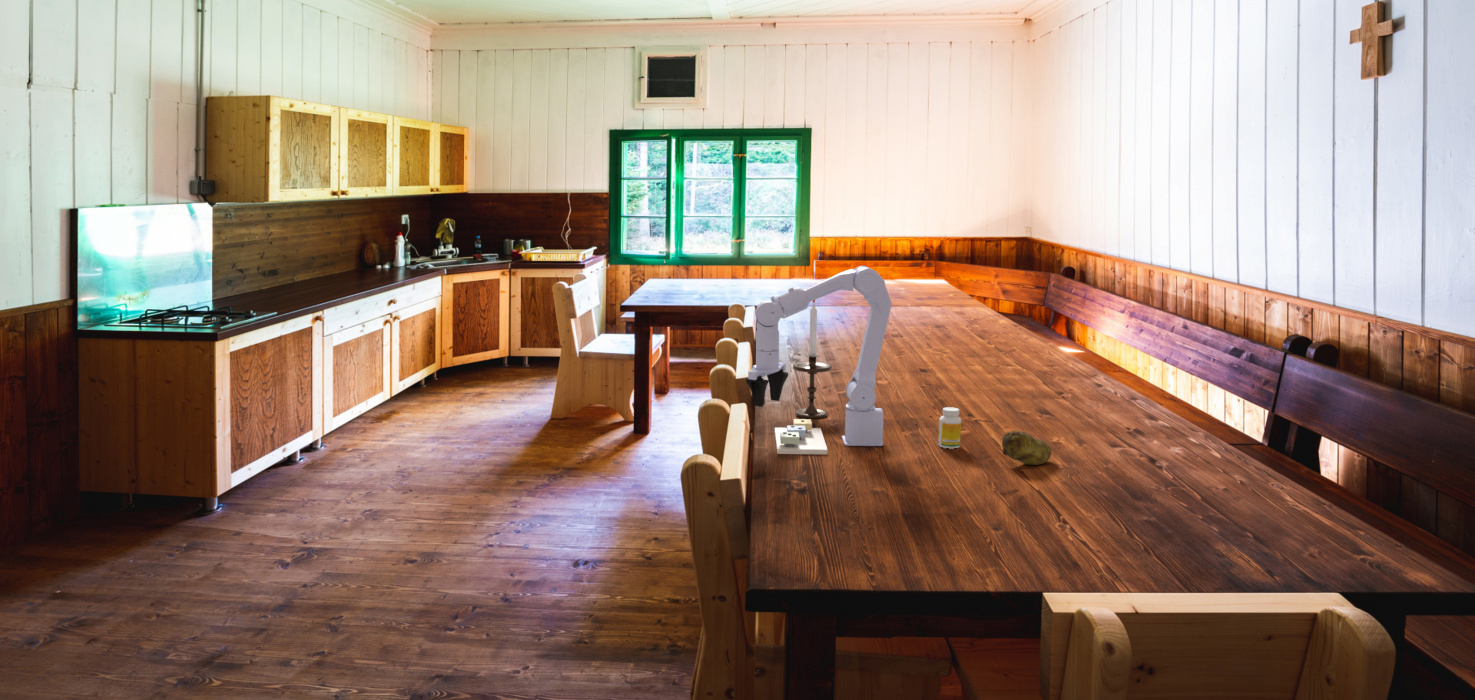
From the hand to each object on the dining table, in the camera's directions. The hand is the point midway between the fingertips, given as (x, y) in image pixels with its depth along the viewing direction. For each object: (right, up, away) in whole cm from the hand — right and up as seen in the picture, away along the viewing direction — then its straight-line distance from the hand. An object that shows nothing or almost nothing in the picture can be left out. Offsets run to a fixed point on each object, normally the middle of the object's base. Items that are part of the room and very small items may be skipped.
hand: (767, 403), depth 223 cm
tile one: (+9, -7, +7) cm, 13 cm away
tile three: (+5, -9, -6) cm, 12 cm away
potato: (+60, -13, -15) cm, 63 cm away
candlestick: (+13, -5, +30) cm, 33 cm away
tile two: (+7, -8, 0) cm, 11 cm away
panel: (+8, -10, +1) cm, 13 cm away
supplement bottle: (+45, -11, -1) cm, 47 cm away
